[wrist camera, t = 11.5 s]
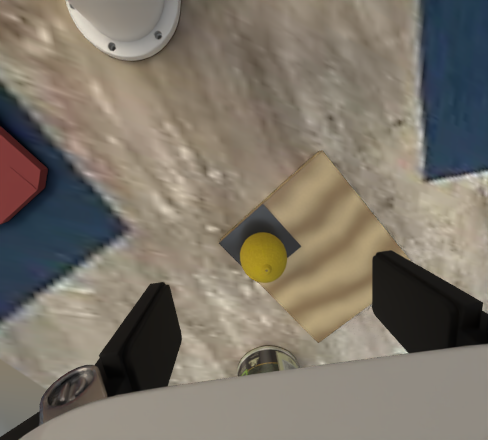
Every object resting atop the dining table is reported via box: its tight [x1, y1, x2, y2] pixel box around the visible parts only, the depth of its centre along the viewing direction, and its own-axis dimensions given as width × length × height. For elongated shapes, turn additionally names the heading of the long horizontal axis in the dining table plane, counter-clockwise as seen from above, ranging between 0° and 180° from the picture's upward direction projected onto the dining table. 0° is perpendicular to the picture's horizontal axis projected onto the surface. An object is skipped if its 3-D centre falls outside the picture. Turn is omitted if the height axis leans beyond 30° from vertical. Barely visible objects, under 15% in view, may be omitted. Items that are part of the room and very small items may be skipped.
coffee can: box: [237, 346, 299, 376], centre depth 31 cm, size 10×10×14 cm
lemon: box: [240, 232, 287, 283], centre depth 27 cm, size 6×6×8 cm
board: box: [219, 151, 410, 343], centre depth 32 cm, size 22×18×2 cm
